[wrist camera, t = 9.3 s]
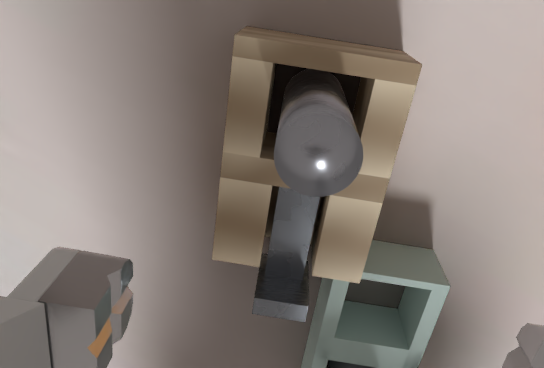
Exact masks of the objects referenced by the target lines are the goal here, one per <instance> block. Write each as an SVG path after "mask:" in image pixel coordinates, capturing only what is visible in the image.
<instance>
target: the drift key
mask: <svg viewBox="0 0 544 368" xmlns="http://www.w3.org/2000/svg"><path fill="white" fill-rule="evenodd" d="M319 199H320V197H312V196H306V195H303V194H300V193H298V192H296V191H294V190H292V189H290V188H284V187H279V189H278V195H277V201H276V207H275V213H274V219H273V225H272V231H271V237H270V243H269V249H268V254H262V255H261V261H260V267H259V273H258V279H257V285H256V291H255V297H254V304H253V310H252V314H257V315H263V316H269V317H275V318H282V319H288V320H294V321H300V322H305V320H306V316H307V311H308V307H309V289H308V261H306V260H307V255H308V251H309V246H310V241H311V237H312V232H313V227H314V223H315V218H316V213H317V209H318V204H319Z"/></svg>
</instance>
